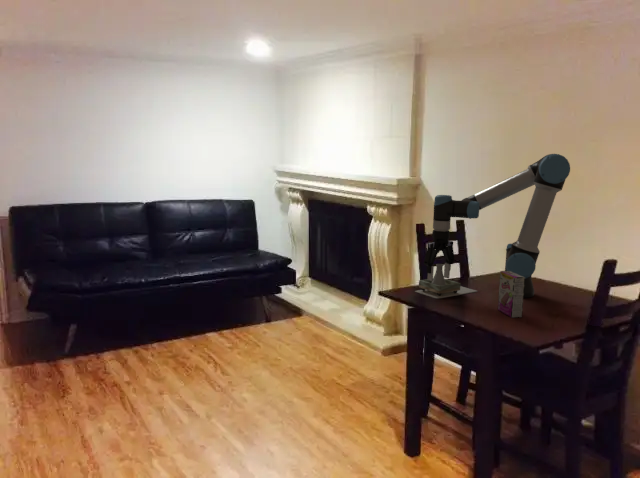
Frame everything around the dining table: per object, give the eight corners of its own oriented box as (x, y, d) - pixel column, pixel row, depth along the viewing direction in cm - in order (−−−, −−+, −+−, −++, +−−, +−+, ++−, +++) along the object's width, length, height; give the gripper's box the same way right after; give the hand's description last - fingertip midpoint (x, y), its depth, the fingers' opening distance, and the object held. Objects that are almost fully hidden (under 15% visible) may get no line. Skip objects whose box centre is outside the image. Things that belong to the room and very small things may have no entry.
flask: (445, 284, 264) (446, 263, 263) (447, 288, 257) (448, 266, 256) (429, 284, 265) (430, 262, 263) (431, 287, 258) (432, 265, 256)
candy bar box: (496, 310, 236) (499, 270, 234) (507, 309, 237) (510, 270, 235) (510, 318, 226) (514, 277, 223) (522, 317, 227) (525, 276, 224)
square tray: (459, 293, 260) (460, 283, 259) (439, 296, 253) (439, 286, 252) (439, 287, 271) (439, 277, 270) (418, 290, 264) (419, 280, 263)
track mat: (477, 291, 266) (477, 290, 266) (436, 298, 252) (436, 297, 252) (455, 285, 277) (455, 284, 277) (414, 291, 263) (414, 290, 263)
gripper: (452, 227, 266) (449, 274, 270) (416, 230, 254) (414, 279, 258) (465, 229, 260) (461, 278, 263) (429, 232, 248) (426, 283, 251)
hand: (438, 279), depth 261 cm, fingers open, 9 cm apart
